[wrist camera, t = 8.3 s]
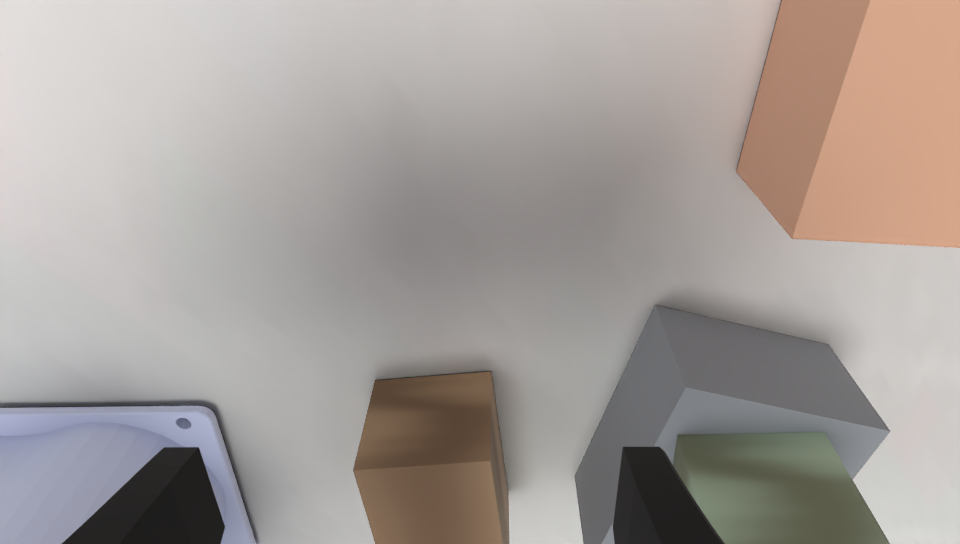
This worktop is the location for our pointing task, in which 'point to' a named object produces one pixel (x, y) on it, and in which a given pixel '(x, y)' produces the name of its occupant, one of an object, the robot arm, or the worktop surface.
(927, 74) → the terracotta brick
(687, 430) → the slate brick
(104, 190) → the worktop surface
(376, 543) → the walnut brick
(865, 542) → the sage brick
